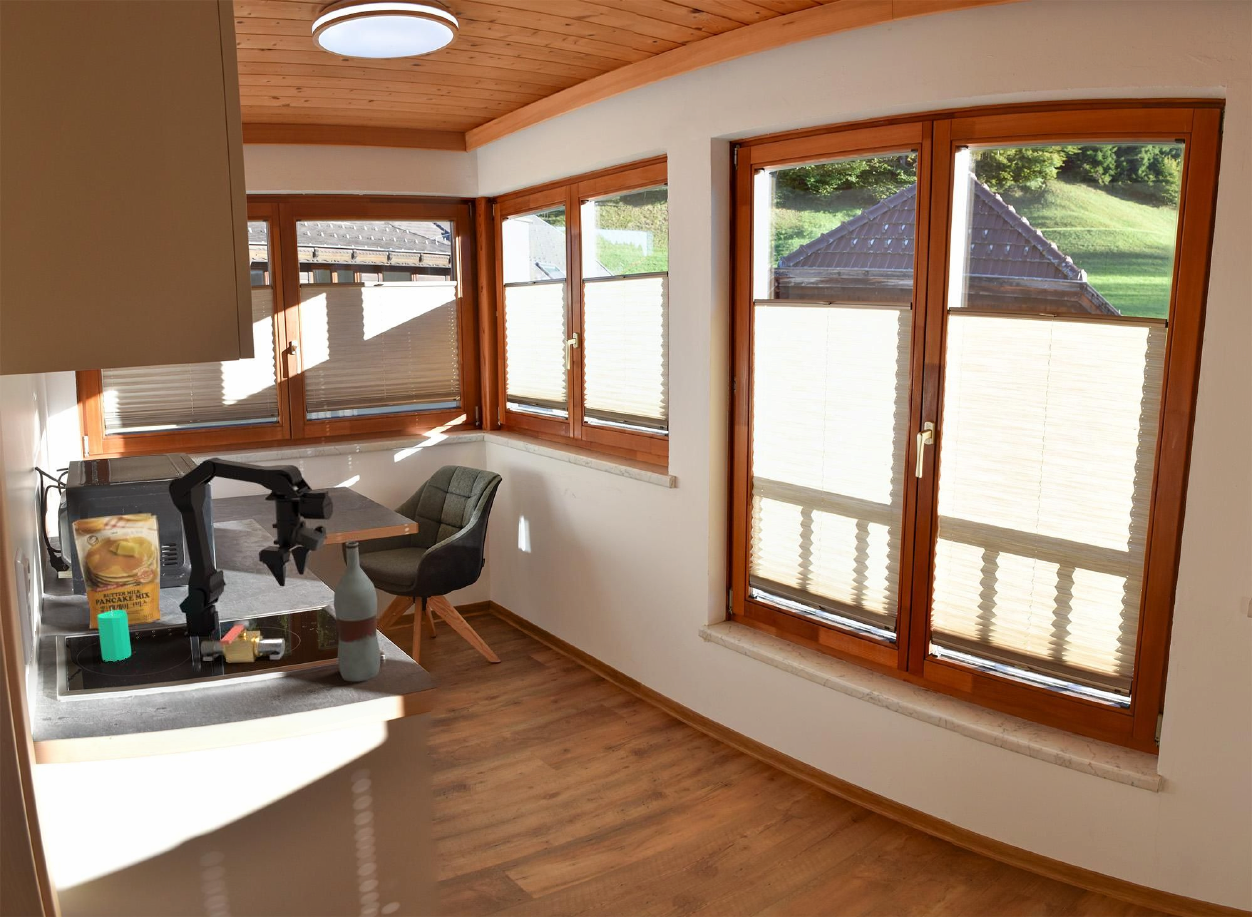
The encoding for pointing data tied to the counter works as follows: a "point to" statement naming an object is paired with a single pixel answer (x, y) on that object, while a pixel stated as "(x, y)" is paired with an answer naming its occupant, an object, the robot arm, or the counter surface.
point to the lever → (235, 631)
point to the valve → (244, 648)
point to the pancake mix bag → (120, 565)
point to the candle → (114, 635)
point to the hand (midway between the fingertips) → (292, 580)
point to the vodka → (356, 621)
